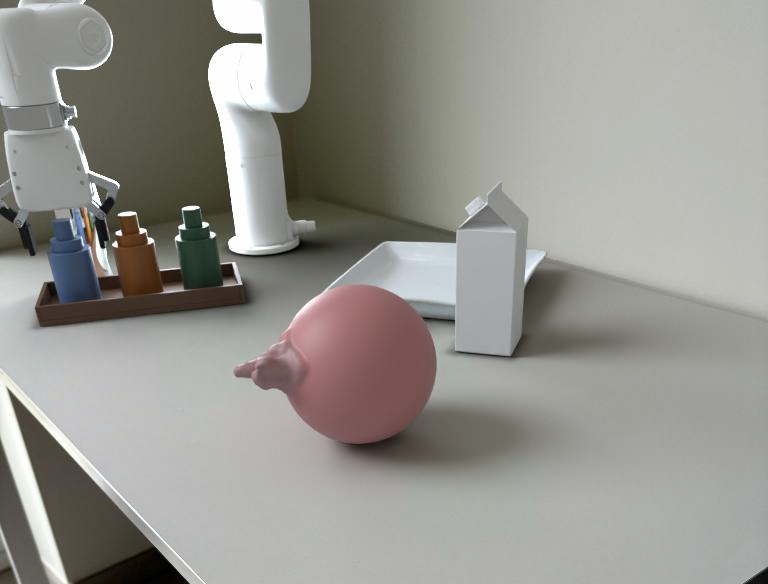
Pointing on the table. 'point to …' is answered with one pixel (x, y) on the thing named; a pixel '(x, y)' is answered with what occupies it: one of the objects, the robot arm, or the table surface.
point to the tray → (139, 298)
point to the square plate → (418, 274)
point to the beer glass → (87, 234)
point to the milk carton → (490, 275)
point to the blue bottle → (72, 265)
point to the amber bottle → (136, 258)
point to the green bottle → (197, 252)
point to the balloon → (352, 364)
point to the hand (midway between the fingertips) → (69, 250)
